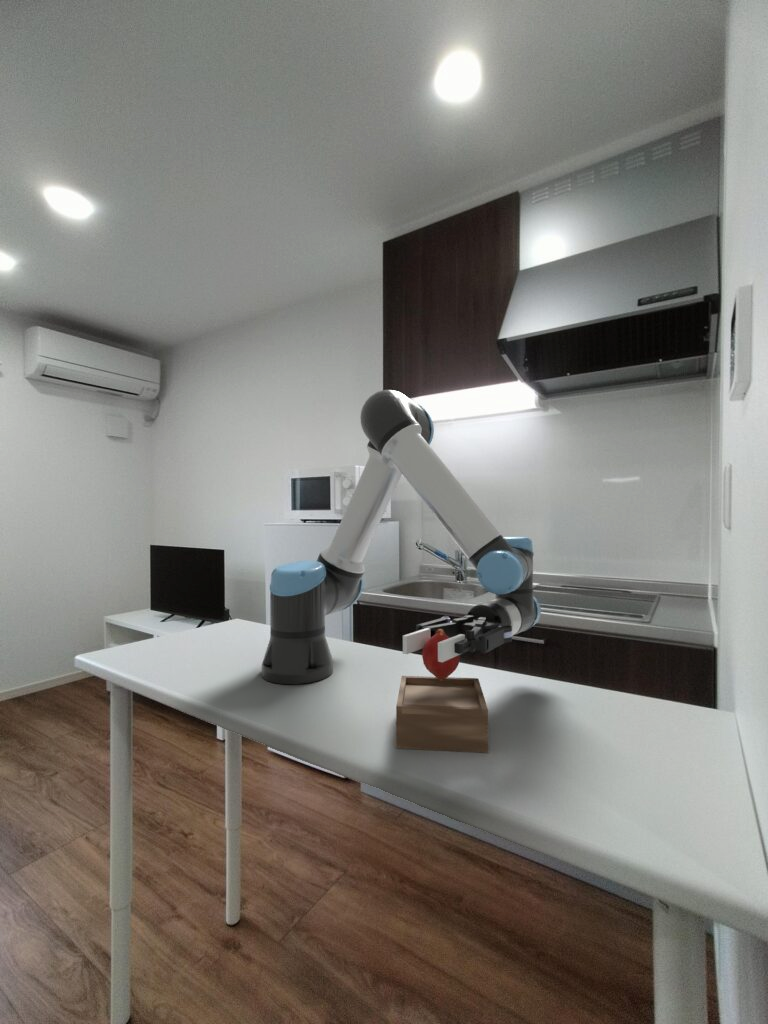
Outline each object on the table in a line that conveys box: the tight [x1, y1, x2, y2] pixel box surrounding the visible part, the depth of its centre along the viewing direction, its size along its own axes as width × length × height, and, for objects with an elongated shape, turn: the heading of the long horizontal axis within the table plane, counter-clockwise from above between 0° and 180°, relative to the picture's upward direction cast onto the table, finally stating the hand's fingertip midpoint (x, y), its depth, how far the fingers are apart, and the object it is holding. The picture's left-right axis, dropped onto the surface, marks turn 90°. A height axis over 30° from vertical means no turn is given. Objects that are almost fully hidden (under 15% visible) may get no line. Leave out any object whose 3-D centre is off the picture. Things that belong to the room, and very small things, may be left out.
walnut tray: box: [395, 675, 489, 754], centre depth 71 cm, size 13×13×6 cm
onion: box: [421, 629, 460, 680], centre depth 71 cm, size 6×6×8 cm
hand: (422, 648), depth 67 cm, fingers closed on onion, 6 cm apart
